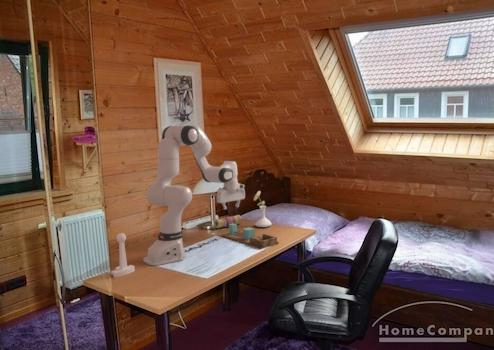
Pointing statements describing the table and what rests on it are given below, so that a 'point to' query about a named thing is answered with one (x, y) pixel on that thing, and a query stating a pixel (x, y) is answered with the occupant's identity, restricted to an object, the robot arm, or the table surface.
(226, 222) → the scroll
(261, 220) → the flower in vase
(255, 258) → the table surface
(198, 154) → the robot arm
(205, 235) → the table surface
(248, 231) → the block with cord
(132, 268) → the joystick
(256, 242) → the lane board
